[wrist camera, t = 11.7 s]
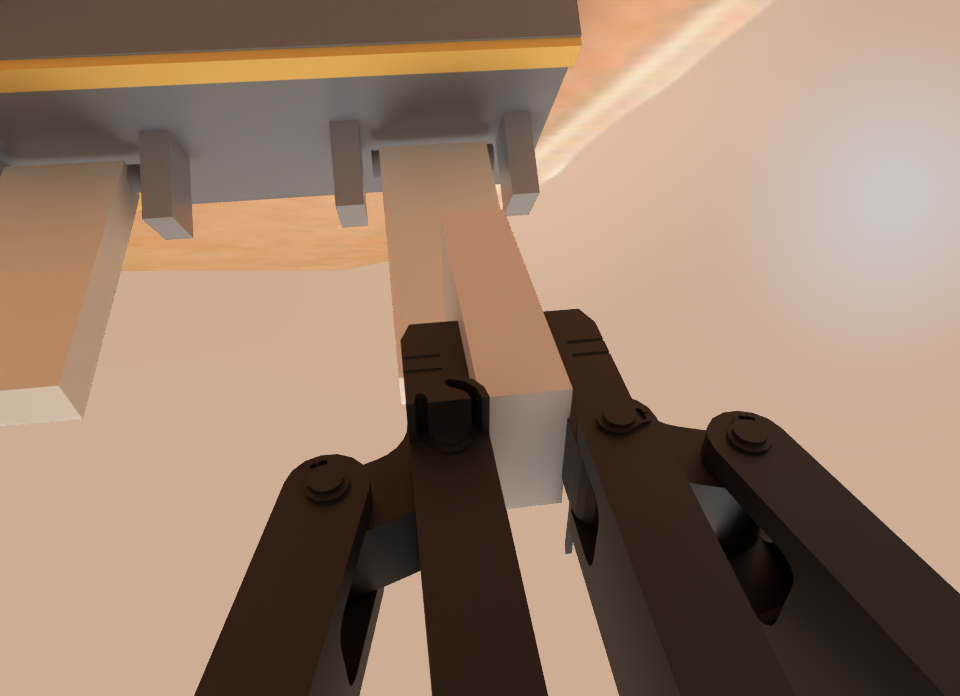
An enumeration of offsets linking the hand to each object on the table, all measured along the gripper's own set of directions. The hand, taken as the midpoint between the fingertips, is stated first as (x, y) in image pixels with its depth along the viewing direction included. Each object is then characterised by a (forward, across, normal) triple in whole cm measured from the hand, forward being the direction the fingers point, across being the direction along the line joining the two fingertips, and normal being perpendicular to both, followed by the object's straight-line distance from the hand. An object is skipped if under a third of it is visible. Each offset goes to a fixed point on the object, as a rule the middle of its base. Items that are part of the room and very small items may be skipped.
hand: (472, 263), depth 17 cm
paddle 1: (+11, -13, -2) cm, 17 cm away
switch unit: (+13, -7, 0) cm, 15 cm away
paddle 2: (+11, 0, -2) cm, 11 cm away
